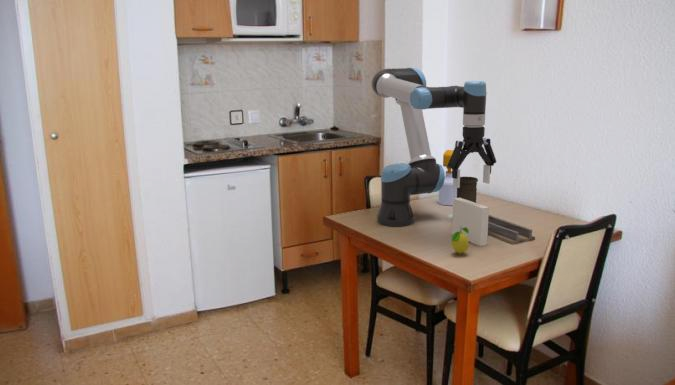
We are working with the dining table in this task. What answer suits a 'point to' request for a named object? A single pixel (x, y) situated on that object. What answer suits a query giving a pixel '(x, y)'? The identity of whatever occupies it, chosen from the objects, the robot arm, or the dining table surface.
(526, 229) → the track plinth
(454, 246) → the lemon
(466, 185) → the container
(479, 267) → the dining table surface
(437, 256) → the dining table surface
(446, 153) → the soap bottle
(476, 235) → the door panel
